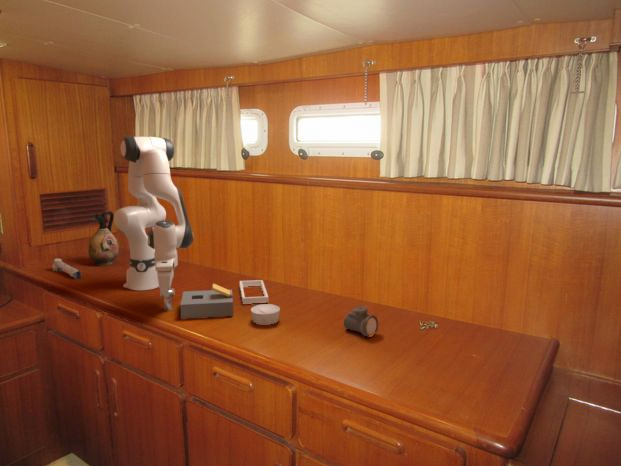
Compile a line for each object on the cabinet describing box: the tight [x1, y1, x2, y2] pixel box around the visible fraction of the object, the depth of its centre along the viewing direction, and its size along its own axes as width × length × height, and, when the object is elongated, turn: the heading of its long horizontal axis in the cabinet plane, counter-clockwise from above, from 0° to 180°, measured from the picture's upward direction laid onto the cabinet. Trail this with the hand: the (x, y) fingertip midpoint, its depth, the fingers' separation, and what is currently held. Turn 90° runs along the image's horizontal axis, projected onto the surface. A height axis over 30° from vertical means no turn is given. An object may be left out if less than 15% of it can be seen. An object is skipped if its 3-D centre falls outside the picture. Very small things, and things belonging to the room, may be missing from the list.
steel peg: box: [159, 287, 176, 311], centre depth 181 cm, size 6×6×8 cm
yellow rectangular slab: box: [211, 283, 234, 298], centre depth 181 cm, size 6×9×1 cm
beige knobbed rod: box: [51, 258, 83, 280], centre depth 228 cm, size 5×7×25 cm
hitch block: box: [180, 289, 234, 320], centre depth 181 cm, size 16×20×6 cm
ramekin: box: [250, 303, 281, 326], centre depth 171 cm, size 11×11×5 cm
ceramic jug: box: [88, 210, 120, 267], centre depth 246 cm, size 17×15×30 cm
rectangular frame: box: [239, 279, 269, 305], centre depth 201 cm, size 25×11×3 cm, turn 12°
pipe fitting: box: [343, 305, 379, 338], centre depth 162 cm, size 12×8×10 cm
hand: (167, 294), depth 181 cm, fingers closed on steel peg, 6 cm apart
